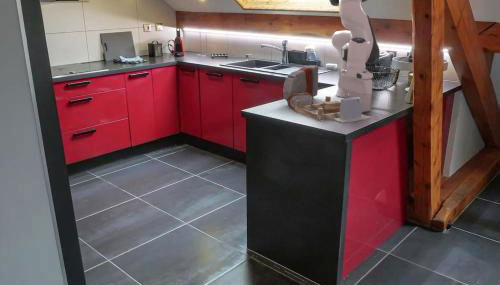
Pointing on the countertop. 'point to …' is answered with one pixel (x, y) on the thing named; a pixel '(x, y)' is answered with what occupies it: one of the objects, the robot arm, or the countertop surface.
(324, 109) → the offcut lower
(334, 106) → the offcut upper
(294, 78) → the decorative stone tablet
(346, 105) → the lavender grey box
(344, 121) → the mat
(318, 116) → the rack
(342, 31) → the robot arm
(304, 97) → the tin
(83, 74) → the countertop surface
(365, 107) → the soap bottle
